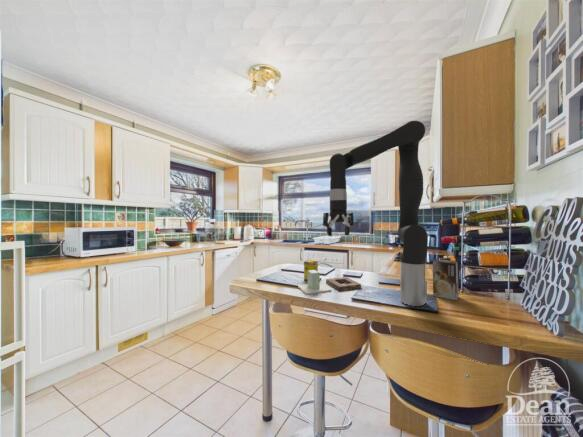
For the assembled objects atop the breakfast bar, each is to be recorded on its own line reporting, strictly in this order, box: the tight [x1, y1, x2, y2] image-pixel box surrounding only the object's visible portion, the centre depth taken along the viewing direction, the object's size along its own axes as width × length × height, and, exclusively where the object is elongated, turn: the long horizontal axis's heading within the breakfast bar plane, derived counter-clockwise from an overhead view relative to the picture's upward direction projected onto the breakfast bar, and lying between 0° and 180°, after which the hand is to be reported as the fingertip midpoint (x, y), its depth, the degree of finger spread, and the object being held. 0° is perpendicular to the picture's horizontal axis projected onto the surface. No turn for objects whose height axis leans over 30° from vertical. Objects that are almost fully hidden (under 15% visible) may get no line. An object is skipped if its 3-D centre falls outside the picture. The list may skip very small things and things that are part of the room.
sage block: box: [307, 270, 321, 289], centre depth 118 cm, size 4×6×8 cm, turn 19°
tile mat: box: [296, 282, 332, 295], centre depth 118 cm, size 13×13×1 cm
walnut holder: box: [325, 276, 362, 292], centre depth 123 cm, size 12×14×2 cm
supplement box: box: [303, 259, 319, 281], centre depth 133 cm, size 6×6×11 cm
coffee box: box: [432, 259, 459, 301], centre depth 105 cm, size 9×6×16 cm
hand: (338, 235), depth 105 cm, fingers open, 8 cm apart
